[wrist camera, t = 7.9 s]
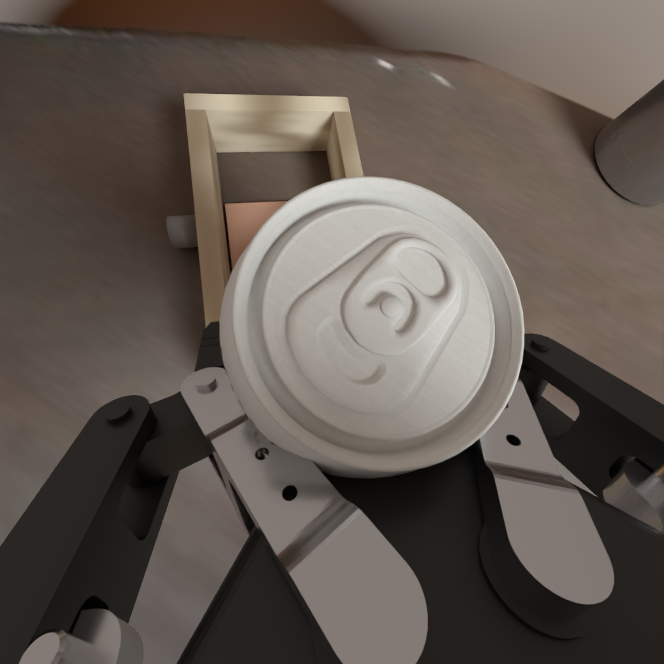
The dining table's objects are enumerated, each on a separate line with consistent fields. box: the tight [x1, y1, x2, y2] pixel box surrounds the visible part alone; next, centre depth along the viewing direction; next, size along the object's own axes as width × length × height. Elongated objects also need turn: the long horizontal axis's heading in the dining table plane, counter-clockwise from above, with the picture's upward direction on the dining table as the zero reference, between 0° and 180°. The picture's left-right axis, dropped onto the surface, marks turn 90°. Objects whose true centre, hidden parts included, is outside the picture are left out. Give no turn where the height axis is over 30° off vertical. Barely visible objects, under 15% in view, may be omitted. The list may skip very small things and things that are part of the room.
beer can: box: [220, 176, 524, 478], centre depth 12 cm, size 6×6×15 cm
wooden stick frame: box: [166, 93, 363, 327], centre depth 20 cm, size 15×19×4 cm
